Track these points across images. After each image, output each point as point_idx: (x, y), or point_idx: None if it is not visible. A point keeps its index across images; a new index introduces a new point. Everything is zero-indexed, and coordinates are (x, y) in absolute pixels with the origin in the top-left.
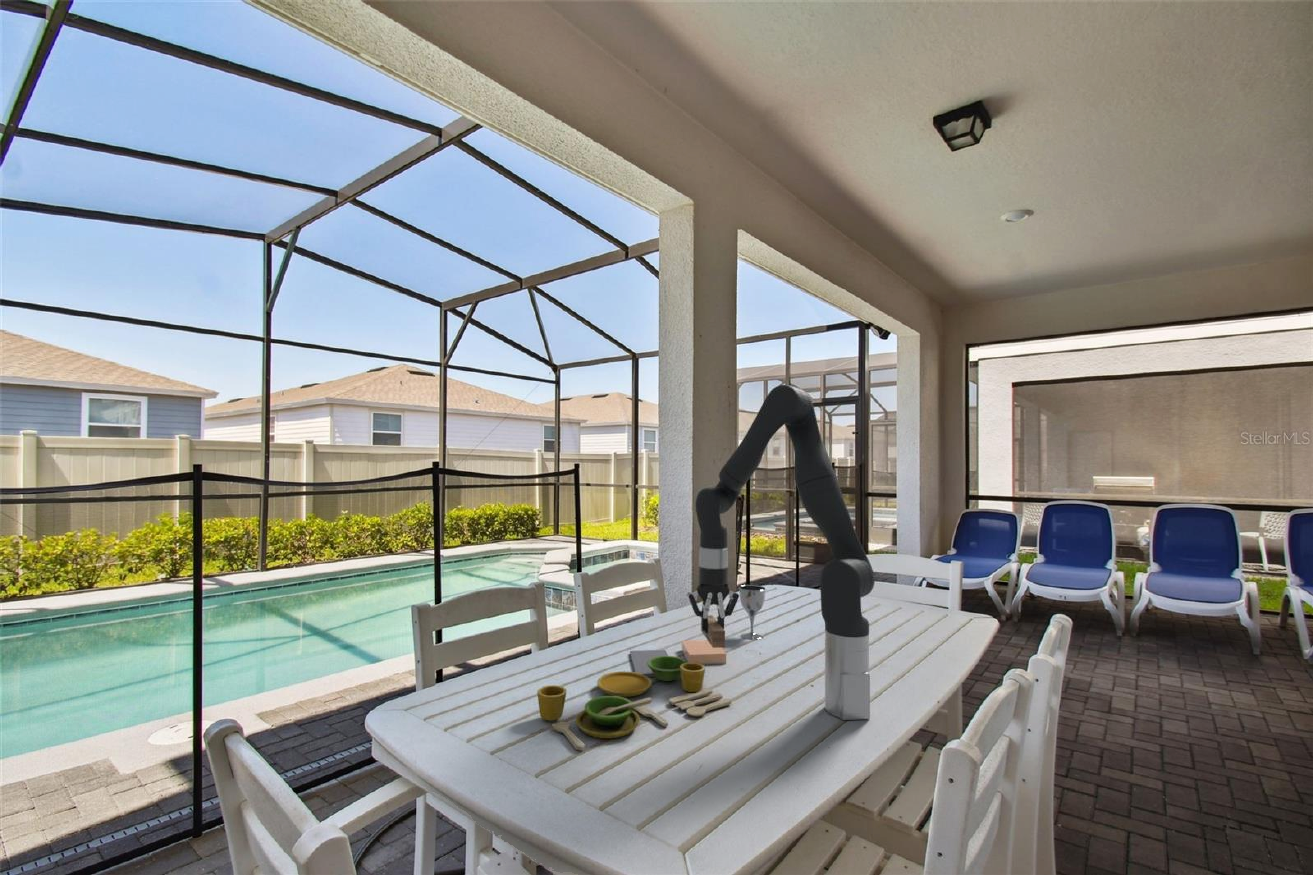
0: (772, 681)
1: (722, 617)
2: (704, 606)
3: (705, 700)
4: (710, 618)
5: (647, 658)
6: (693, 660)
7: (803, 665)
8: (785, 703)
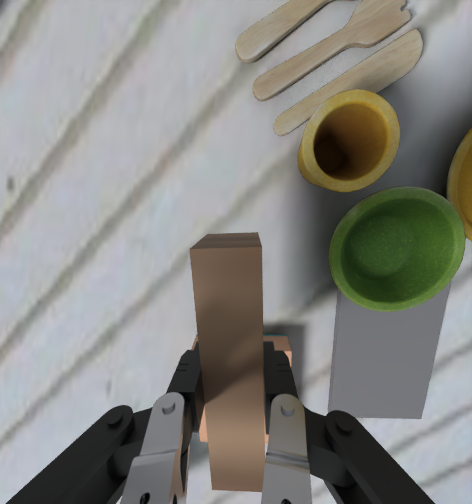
0: (103, 217)
1: (172, 397)
2: (309, 500)
3: (311, 47)
4: (229, 451)
5: (391, 368)
6: (278, 341)
7: (19, 311)
8: (89, 61)
